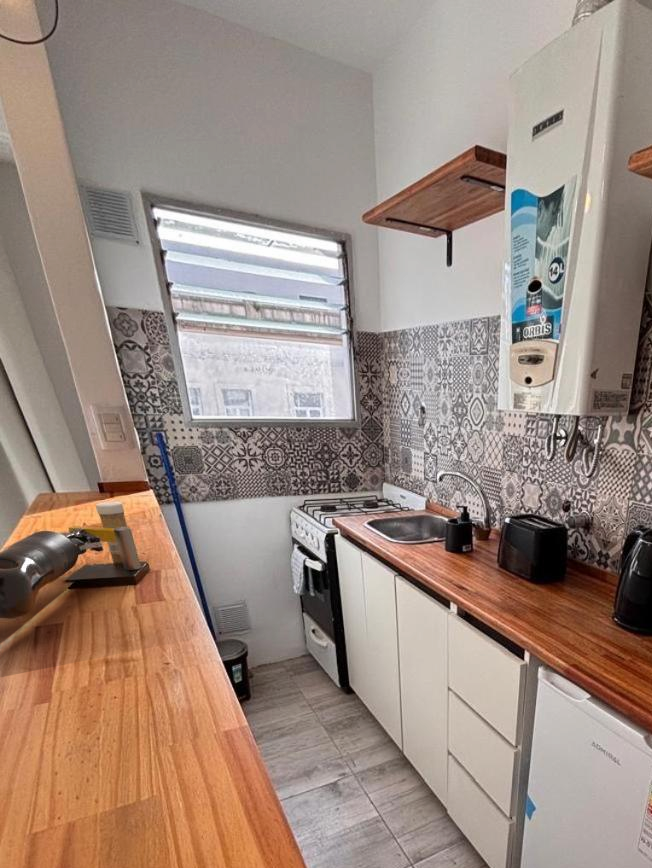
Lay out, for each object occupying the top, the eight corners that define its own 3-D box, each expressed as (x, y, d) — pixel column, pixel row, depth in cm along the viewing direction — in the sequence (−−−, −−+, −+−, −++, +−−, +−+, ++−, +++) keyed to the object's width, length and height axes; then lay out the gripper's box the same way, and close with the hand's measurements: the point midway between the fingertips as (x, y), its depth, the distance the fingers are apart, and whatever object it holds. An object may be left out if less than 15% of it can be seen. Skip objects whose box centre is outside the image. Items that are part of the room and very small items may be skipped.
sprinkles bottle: (143, 564, 112) (127, 501, 106) (127, 570, 108) (109, 505, 102) (125, 562, 113) (108, 500, 107) (108, 568, 109) (89, 504, 103)
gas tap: (77, 566, 104) (64, 526, 100) (89, 562, 106) (76, 523, 103) (134, 570, 102) (123, 530, 99) (144, 566, 105) (133, 527, 101)
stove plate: (67, 589, 97) (64, 579, 97) (87, 573, 106) (84, 564, 105) (136, 584, 101) (134, 575, 100) (150, 569, 109) (147, 560, 108)
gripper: (79, 535, 86) (114, 513, 101) (-17, 538, 83) (34, 515, 98) (92, 577, 89) (124, 550, 104) (1, 582, 86) (48, 554, 101)
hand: (81, 534), depth 101 cm, fingers closed
